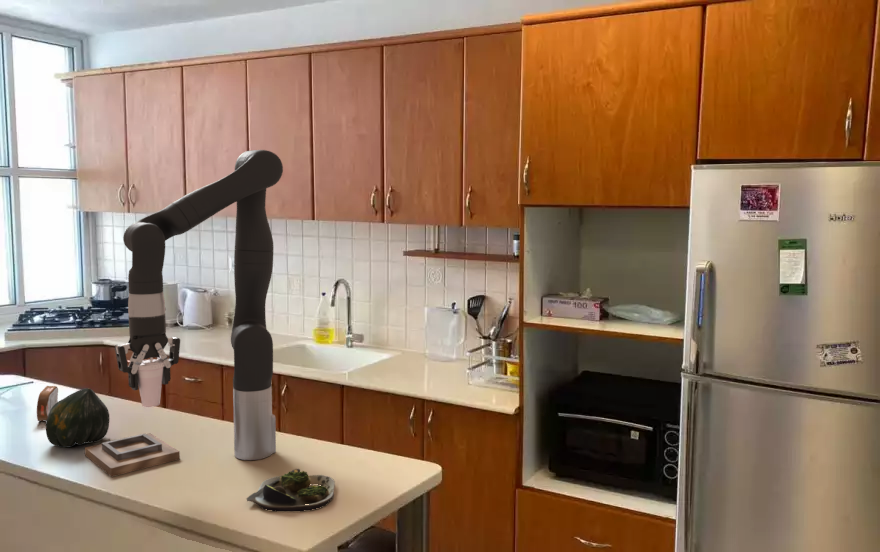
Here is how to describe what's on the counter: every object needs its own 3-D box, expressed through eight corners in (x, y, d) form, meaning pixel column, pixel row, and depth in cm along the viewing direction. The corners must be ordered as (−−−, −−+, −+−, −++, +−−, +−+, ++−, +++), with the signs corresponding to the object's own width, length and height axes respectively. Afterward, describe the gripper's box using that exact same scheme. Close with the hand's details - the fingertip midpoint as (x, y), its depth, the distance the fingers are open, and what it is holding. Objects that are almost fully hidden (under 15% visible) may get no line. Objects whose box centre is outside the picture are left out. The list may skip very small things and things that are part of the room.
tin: (48, 409, 207) (47, 382, 206) (60, 409, 208) (59, 381, 207) (35, 425, 192) (34, 396, 192) (48, 424, 193) (47, 395, 193)
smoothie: (155, 409, 151) (153, 347, 150) (129, 407, 153) (126, 345, 151) (172, 401, 158) (169, 341, 156) (146, 399, 159) (144, 339, 157)
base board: (150, 440, 182) (149, 427, 181) (179, 459, 169) (179, 445, 168) (85, 455, 170) (84, 441, 170) (111, 476, 158) (110, 462, 157)
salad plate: (262, 476, 160) (261, 457, 159) (339, 476, 161) (339, 456, 160) (242, 514, 141) (242, 492, 140) (330, 513, 142) (330, 491, 141)
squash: (24, 426, 175) (53, 386, 171) (72, 411, 189) (101, 374, 185) (56, 468, 172) (87, 428, 168) (103, 450, 187) (132, 413, 183)
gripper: (171, 307, 161) (173, 377, 162) (106, 314, 150) (110, 389, 152) (186, 311, 155) (188, 384, 157) (120, 318, 145) (123, 396, 147)
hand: (150, 386), depth 155 cm, fingers closed on smoothie, 6 cm apart
